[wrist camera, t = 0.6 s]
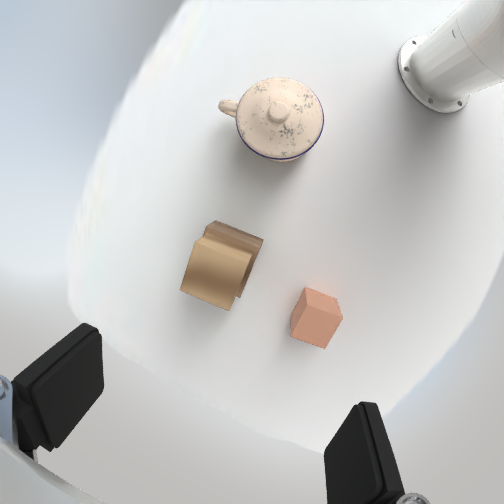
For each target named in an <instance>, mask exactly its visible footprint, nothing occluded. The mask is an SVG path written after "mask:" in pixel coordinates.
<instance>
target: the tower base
mask: <svg viewBox="0 0 504 504" xmlns="http://www.w3.org/2000/svg"><path fill="white" fill-rule="evenodd" d="M207 233H209V234H212V235H214V236H217V237H219V238H222V239H224V240H226V241H229V242H231V243H234V244H236V245H239V246H241V247H244V248H246V249H249V250H251V251H253V254H252V256H251V259H250V261H249V264H248V266H247V269H246V271H245V274H244V276H243V279H242V281H241V284H240V286H239V289H238V291H237V294H236V296H237V297H239V298H240V296H241V294H242V291H243V289H244V286H245V284H246V282H247V279H248V277H249V274H250V272H251V269H252V267H253V264H254V262H255V259H256V257H257V254H258V252H259V249H260V247H261V245H262V242H263V239H261V238H258V237H256V236H253V235H251V234H248V233H246V232H243V231H241V230H238V229H236V228H233V227H231V226H228V225H226V224H223V223H221V222H218V221H214V222H213V223H211V224H209V225H208V226H206V228H205V231H204V234H203V236H204V235H205V234H207Z"/></svg>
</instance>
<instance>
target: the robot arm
mask: <svg viewBox="0 0 504 504" xmlns="http://www.w3.org/2000/svg"><path fill="white" fill-rule="evenodd" d="M398 64H399V70H400V73H401V76H402V78H403V80H404V82H405V84H406V86H407V87H408V89H409V90H410V92H411V93H412V94H413V95H414V96H415V97H416V98H417V99H418V100H419V101H420V102H421V103H422V104H424V105H425V106H427V107H428V108H430V109H432V110H435V111H438V112H441V113H451V112H455V111H458V110H460V109H462V108H463V107H464V106H465V105H466V103H467V102H468V99H469V97H470V94H472V93H474V92H477V91H480V90H482V89H485V88H487V87H490V86H493V85H495V84H498V83H501V82H504V0H465V1H464V2H463V3H462V4H461V5H460V6H459V7H458V8H457V9H456V10H455V11H454V12H453V13H452V14H451V15H450V16H448V17H447V18H446V19H445V20H444V21H443V22H442V23H441V24H440V25H439V26H438V27H437V28H436V29H435V30H434V31H433V32H432V33H431V34H430V35H429V36H427V37H425V36H418V37H414V38H411V39H410V40H408V41H407V42H406V43H405V44H404V45H403V46H402V48H401V50H400V53H399V58H398ZM428 101H429V102H428ZM102 361H103V360H102V336H101V334H100V333H99V331H98V329H97V328H95V327H93V326H91V325H89V324H87V323H82V324H81V325H79V326H78V327H77V328H76V329H74V330H73V331H72V332H70V333H69V334H68V335H67V336H65V337H64V338H63V339H62V340H61V341H59V342H58V343H56V345H54V346H53V347H52V348H50V349H49V350H48V351H47V352H45V353H44V354H43V355H41V356H40V357H39V358H38V359H37V360H36V361H34V362H33V363H32V364H30V365H29V366H28V367H27V368H26V369H24V370H23V371H22V372H21V373H20V374H18V375H17V376H16V377H15V378H14V380H13V381H11V382H10V381H9V380H8V379H7V378H6V377H4V376H2V375H0V504H107V503H105V502H103V501H101V500H99V499H97V498H95V497H93V496H91V495H90V494H88V493H86V492H84V491H82V490H80V489H78V488H76V487H75V486H73V485H72V484H70V483H68V482H66V481H65V480H63V479H61V478H60V477H58V476H57V475H55V474H54V473H52V472H50V471H49V470H47V469H46V468H44V467H43V466H41V465H40V464H38V460H37V453H36V449H37V448H38V447H39V445H40V446H42V447H43V448H45V449H46V450H48V451H49V452H51V451H52V450H53V448H54V447H55V448H58V447H59V446H60V445H61V444H62V443H63V441H64V440H65V439H66V437H67V436H68V435H69V434H70V433H71V431H72V430H73V429H74V427H75V426H76V425H77V424H78V422H79V421H80V420H81V419H82V417H83V416H84V415H85V414H86V412H87V411H88V410H89V408H90V407H91V406H92V405H93V404H94V402H95V401H96V400H97V399H98V397H99V396H100V395H101V394H102V392H103V389H104V377H103V362H102ZM324 463H325V475H326V488H327V504H430V502H429V501H428V500H427V499H426V498H425V497H424V496H422V495H420V494H417V493H409V494H405V492H404V488H403V484H402V481H401V477H400V474H399V471H398V467H397V464H396V460H395V457H394V454H393V451H392V447H391V444H390V441H389V439H388V436H387V433H386V430H385V427H384V424H383V421H382V418H381V415H380V412H379V409H378V406H377V404H376V403H371V402H360V403H359V404H358V405H354V406H353V408H352V409H351V411H350V413H349V414H348V416H347V417H346V419H345V420H344V422H343V424H342V425H341V427H340V428H339V430H338V431H337V433H336V434H335V436H334V437H333V439H332V440H331V441H330V443H329V444H328V446H327V447H326V449H325V452H324Z"/></svg>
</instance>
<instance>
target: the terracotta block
mask: <svg viewBox="0 0 504 504" xmlns="http://www.w3.org/2000/svg"><path fill="white" fill-rule="evenodd" d="M342 319H343V317H342V314H341V311H340V308H339V305H338V302H337V299H335V298H332V297H330V296H327V295H325V294H322V293H320V292H317V291H315V290H312V289H310V288H307V287H305V288H304V290H303V292H302V294H301V296H300V298H299V301H298V303H297V305H296V307H295V309H294V311H293V313H292V315H291V337H293V338H296V339H299V340H301V341H304V342H307V343H310V344H312V345H315V346H318V347H321V348H324V349H325V348H326V346H327V345H328V343H329V341H330V339H331V338H332V336H333V334H334V333H335V331H336V329H337V327H338V326H339V324H340V322H341V320H342Z"/></svg>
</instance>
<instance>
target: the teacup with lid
mask: <svg viewBox="0 0 504 504" xmlns="http://www.w3.org/2000/svg"><path fill="white" fill-rule="evenodd" d="M218 108H219V110H220V111H222V112H223V113H225V114H227V115H230V116H232V117H235V118H236V125H237V130H238V132H239V135H240V137H241V138H242V140H243V141H244V143H245V144H246V145H247V146H248V147H249V148H250V149H251V150H252V151H254V152H255V153H257V154H259V155H261V156H263V157H265V158H267V159H270V160H273V161H277V162H287V161H292V160H295V159H297V158H299V157H301V156H302V155H303V154H305V153H306V152H307V151H308V150H310V149H311V148H312V147H313V146H314V145H315V143H316V142H317V141H318V139H319V137H320V135H321V133H322V129H323V125H324V115H323V110H322V106H321V104H320V102H319V100H318V98H317V97H316V95H315V94H314V93H313V92H312V91H311V90H310V89H309V88H308V87H306V86H305V85H303V84H301V83H299V82H297V81H295V80H292V79H287V78H271V79H267V80H263V81H261V82H259V83H257V84H255V85H254V86H252V87H251V88H250V89H249V90H248V91H247V92H246V93H245V94H244V95H243V97H242V98H241V100H240V102H236V101H231V100H222V101H220V103H219V106H218Z"/></svg>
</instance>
